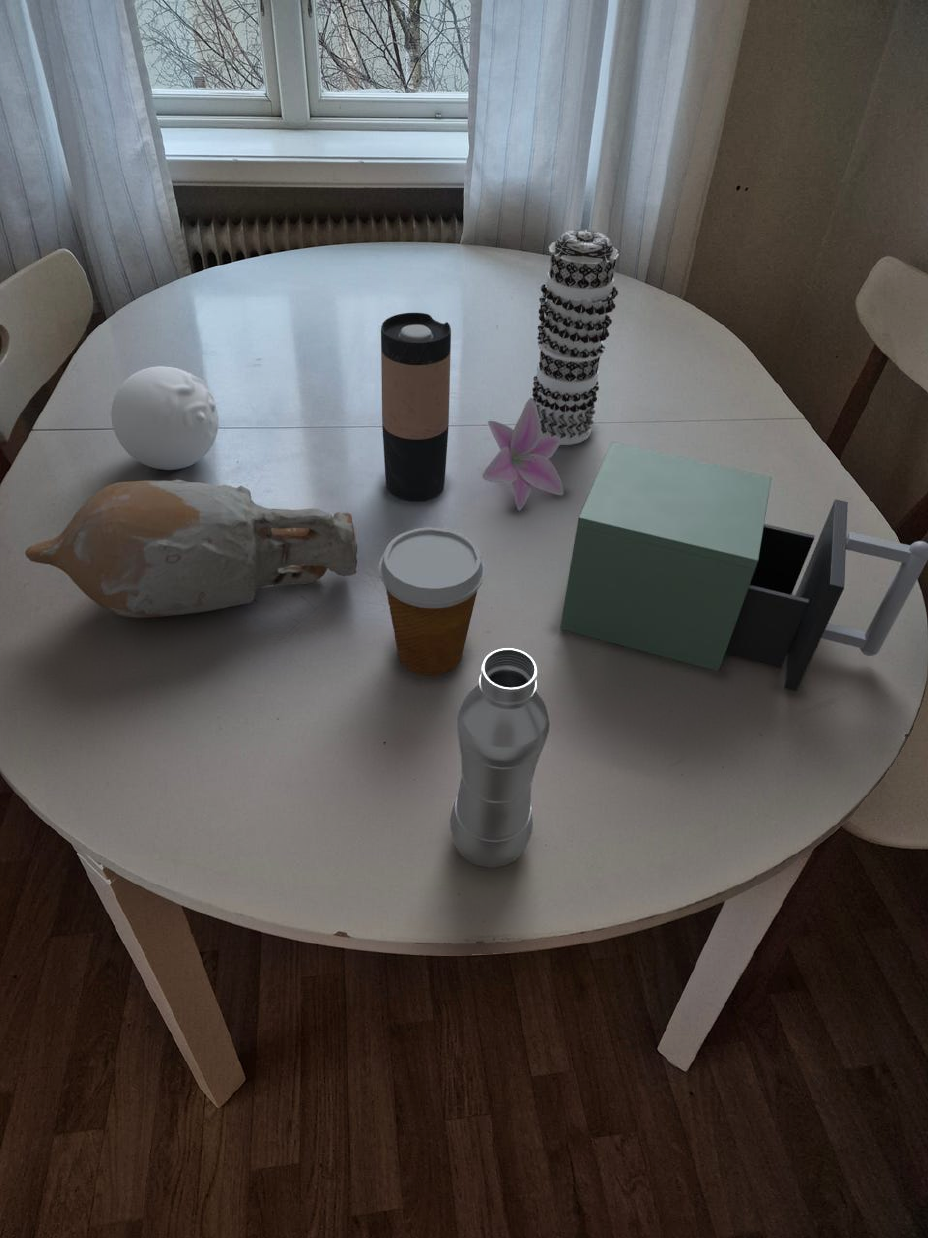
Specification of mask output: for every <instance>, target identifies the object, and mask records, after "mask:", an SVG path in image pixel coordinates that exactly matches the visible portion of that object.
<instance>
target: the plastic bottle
mask: <svg viewBox="0 0 928 1238" xmlns="http://www.w3.org/2000/svg"><path fill="white" fill-rule="evenodd" d="M480 671H481V673H480V675H479V678H478V685H476V686H475V687H474V688H473V689H472V690H470V691H469V692H468V694H467V695H466V696H465V698H464V700H463V702H462V704H461V705H460V708H459V710H458V713H457V736H458V742H459V743H458V744H459V750H460V756H461V759H460V760H461V763H460V765H461V779H460V784H459V788H458V792H457V796H456V798H455V801H454V803H453V805H452V809H451V813H450V818H449V827H450V832H451V837H452V841H453V845H454V846H455V848H456V850H457V851H458V853H459V854H460V855H461V856H462V857H463V858H464V859H465V860H467V861H468V862H469V863H471V864H473V865H476V866H478V867H483V868H490V869H491V868H492V869H493V868H500V867H504V866H507V865H509V864H512V863H513V862H515V861H516V860H517V859H518V858H519V857H520V856H521V855H522V854H523V853H524V851H525V849H526V847H528V846H527V845H528V843H529V841H530V839H531V837H532V833H533V825H534V823H533V809H532V808H533V807H532V784H533V780H534V775H535V772H536V768H537V765H538V762H539V759H540V757H541V755H542V754H541V753H542V751H543V749H544V747H545V744H546V742H547V739H548V735H549V731H550V717H549V713H548V709H547V706H546V703H545V702H544V700H543V698H542V697H541V695H540V694H539V693H538V692H537V685H538V683H537V676H538V669H537V664H536V662H535V660H534V659H533V658H532V657H531V656H530V654H528V653H526V652H525V651H523V650H520V649H516V648H512V647H511V648H510V647H508V648H507V647H506V648H505V647H504V648H499V649H496V650H494V651H491V652H490V653H489V654H488V655H487V656H485V658H484V660H483V662H482V664H481V670H480Z"/></svg>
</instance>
